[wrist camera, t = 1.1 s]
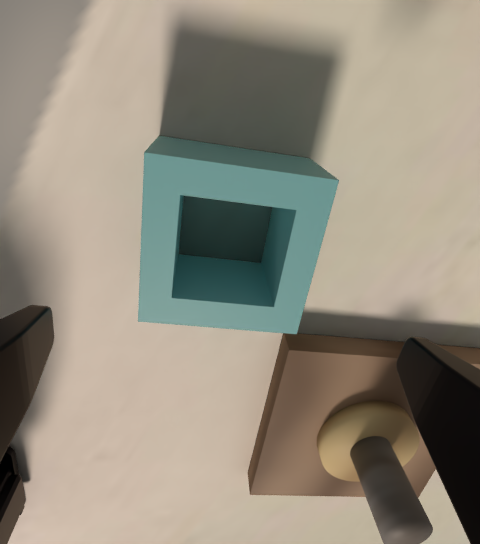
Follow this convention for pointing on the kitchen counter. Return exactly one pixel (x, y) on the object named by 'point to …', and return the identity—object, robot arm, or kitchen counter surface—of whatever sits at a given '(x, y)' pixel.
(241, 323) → the collar
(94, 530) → the kitchen counter surface
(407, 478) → the stand
